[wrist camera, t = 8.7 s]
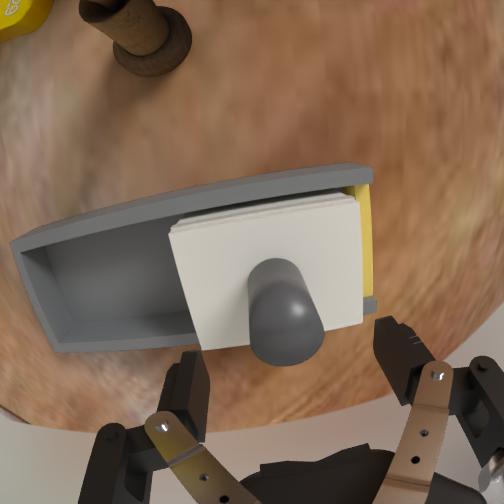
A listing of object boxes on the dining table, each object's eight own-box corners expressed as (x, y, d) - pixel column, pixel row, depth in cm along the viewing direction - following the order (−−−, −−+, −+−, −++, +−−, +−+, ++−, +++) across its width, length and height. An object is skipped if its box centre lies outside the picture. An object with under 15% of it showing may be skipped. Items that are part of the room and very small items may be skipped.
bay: (36, 227, 26) (8, 242, 21) (349, 162, 25) (372, 167, 20) (74, 327, 30) (55, 352, 26) (358, 287, 29) (376, 312, 25)
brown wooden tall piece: (138, 91, 22) (-4, 36, 5) (111, 40, 20) (-15, -35, 3) (204, 52, 21) (147, -76, 4) (174, 3, 19) (103, -121, 2)
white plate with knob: (186, 209, 25) (135, 271, 13) (330, 185, 24) (407, 225, 12) (209, 305, 28) (191, 412, 16) (338, 283, 28) (394, 376, 15)
